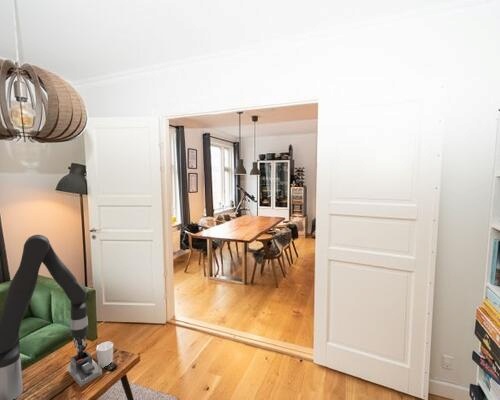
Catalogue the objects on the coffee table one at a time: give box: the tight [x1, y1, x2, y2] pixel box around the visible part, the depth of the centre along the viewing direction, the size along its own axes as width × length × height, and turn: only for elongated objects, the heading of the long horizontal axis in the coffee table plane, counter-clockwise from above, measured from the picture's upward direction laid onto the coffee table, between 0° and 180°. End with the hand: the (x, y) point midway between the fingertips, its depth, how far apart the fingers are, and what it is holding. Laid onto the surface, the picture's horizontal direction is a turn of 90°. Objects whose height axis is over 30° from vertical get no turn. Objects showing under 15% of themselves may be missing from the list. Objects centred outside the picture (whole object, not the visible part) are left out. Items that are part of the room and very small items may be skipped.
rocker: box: [81, 362, 95, 373], centre depth 132 cm, size 4×7×2 cm, turn 53°
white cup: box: [96, 340, 114, 369], centre depth 141 cm, size 8×8×10 cm
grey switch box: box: [67, 349, 103, 388], centre depth 135 cm, size 10×16×7 cm, turn 53°
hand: (80, 356), depth 136 cm, fingers closed
